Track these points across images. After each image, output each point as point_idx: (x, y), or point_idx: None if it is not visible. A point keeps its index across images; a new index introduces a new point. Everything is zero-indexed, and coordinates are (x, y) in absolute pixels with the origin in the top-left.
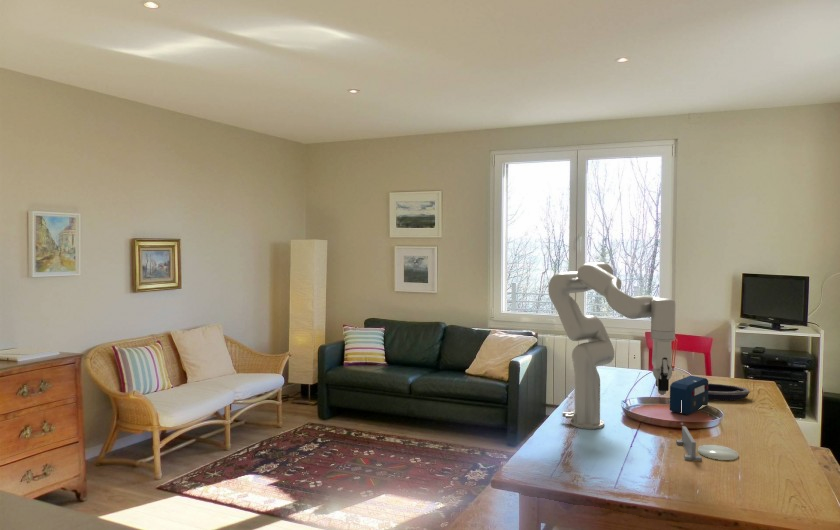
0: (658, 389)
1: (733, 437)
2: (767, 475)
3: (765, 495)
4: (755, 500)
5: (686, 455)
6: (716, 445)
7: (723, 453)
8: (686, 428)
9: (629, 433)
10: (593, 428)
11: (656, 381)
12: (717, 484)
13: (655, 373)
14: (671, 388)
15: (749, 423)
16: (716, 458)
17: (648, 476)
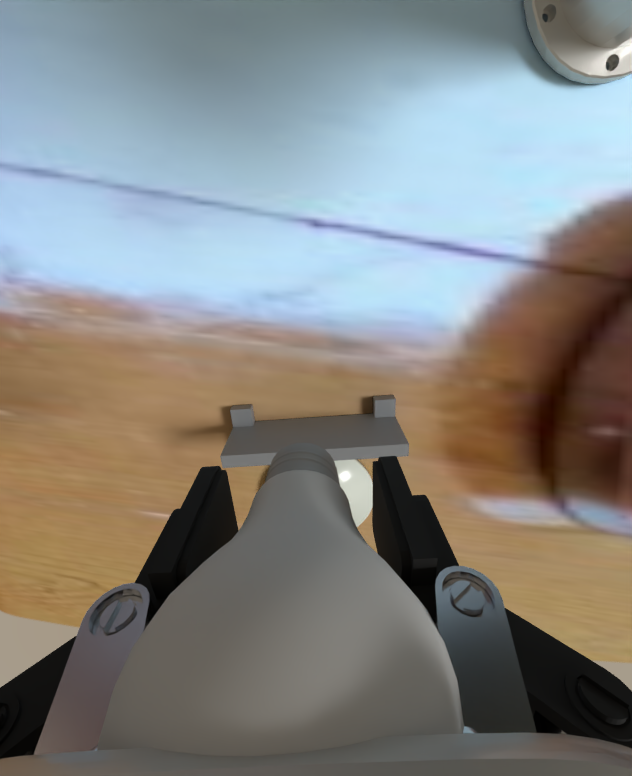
0: (201, 470)
1: (469, 545)
2: None
3: (67, 544)
4: (22, 522)
5: (245, 415)
6: (370, 501)
7: None
8: (382, 455)
9: (477, 223)
10: (526, 8)
11: (382, 491)
12: (76, 463)
13: (164, 616)
14: None
15: (595, 593)
16: None
17: (21, 277)
